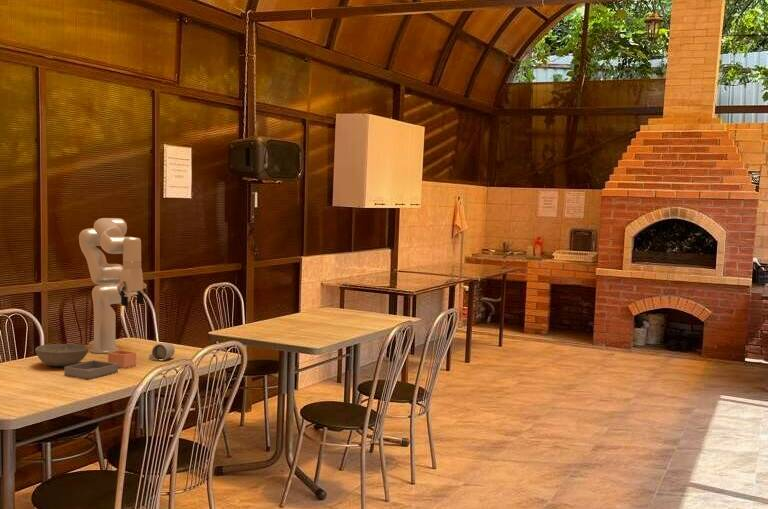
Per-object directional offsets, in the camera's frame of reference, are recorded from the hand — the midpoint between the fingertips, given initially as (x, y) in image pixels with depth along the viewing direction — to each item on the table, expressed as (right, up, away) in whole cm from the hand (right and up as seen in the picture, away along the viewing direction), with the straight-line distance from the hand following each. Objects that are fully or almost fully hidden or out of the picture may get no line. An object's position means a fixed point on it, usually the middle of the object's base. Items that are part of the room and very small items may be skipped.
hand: (132, 304), depth 326 cm
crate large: (-10, -27, -21) cm, 35 cm away
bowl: (-28, -26, -7) cm, 38 cm away
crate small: (-3, -26, -5) cm, 27 cm away
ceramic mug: (+9, -26, +11) cm, 29 cm away
